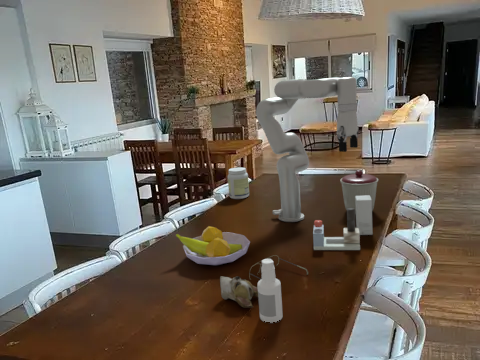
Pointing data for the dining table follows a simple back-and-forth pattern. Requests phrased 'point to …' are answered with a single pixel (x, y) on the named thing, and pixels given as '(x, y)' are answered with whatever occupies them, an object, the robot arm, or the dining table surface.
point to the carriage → (351, 228)
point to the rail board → (338, 246)
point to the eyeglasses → (277, 264)
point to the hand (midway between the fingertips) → (348, 149)
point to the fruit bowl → (215, 247)
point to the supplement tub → (238, 183)
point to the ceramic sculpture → (238, 290)
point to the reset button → (318, 223)
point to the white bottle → (269, 293)
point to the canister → (358, 188)
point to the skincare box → (364, 214)
